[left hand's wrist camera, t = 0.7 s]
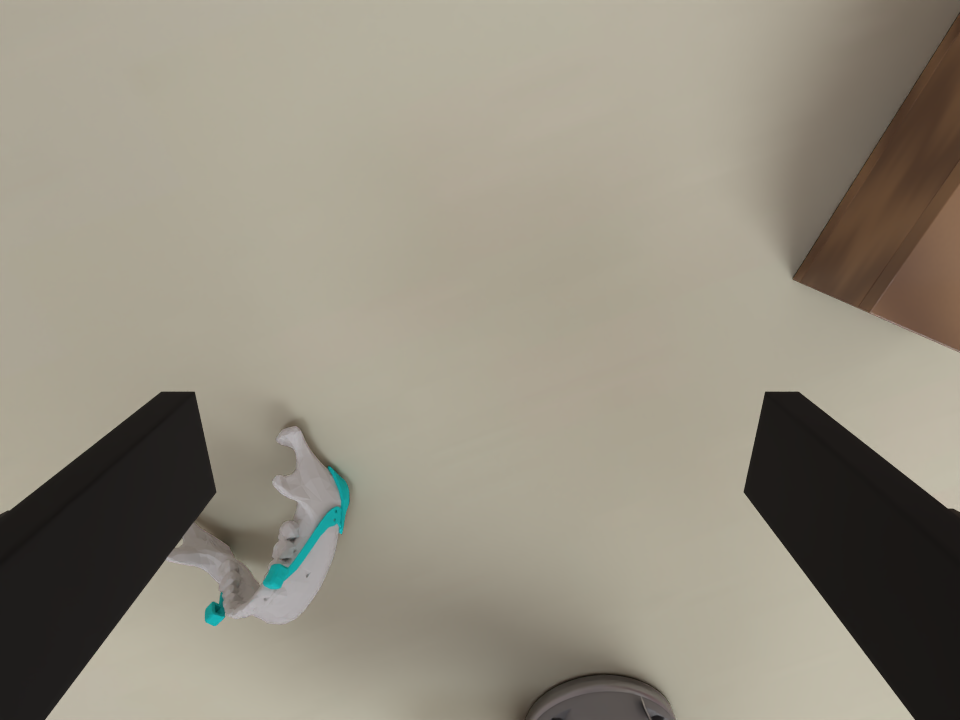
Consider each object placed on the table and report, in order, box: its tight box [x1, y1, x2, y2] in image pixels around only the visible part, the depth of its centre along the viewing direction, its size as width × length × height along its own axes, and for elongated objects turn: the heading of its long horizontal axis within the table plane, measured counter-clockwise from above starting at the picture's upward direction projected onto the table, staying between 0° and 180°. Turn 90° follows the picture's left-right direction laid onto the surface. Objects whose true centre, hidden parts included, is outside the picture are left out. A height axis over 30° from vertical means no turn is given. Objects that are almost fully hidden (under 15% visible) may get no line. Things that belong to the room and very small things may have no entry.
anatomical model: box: [166, 426, 349, 626], centre depth 41 cm, size 15×10×10 cm
